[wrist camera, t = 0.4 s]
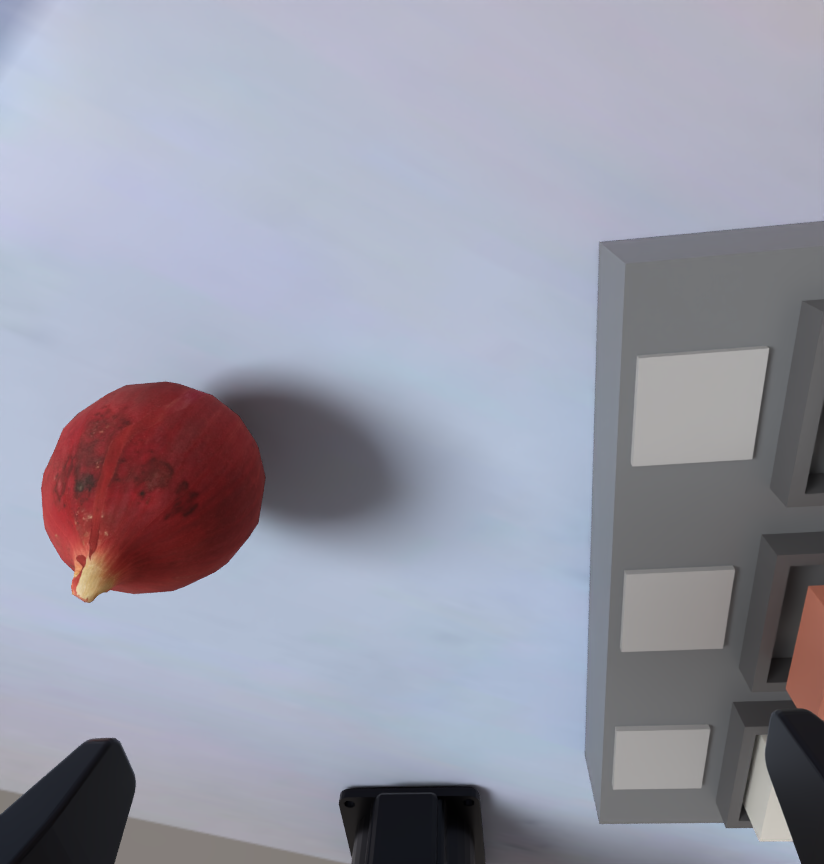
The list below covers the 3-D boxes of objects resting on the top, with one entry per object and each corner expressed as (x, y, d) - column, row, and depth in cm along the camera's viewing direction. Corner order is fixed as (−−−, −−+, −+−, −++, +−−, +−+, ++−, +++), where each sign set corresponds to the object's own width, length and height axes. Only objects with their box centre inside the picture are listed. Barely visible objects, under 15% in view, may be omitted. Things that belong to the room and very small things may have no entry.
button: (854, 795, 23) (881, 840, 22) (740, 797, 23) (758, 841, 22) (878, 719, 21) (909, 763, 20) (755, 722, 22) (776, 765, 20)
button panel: (874, 749, 27) (941, 848, 23) (584, 755, 28) (605, 849, 24) (1055, 199, 17) (1218, 221, 13) (599, 241, 18) (636, 272, 14)
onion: (95, 358, 20) (-95, 486, 13) (266, 337, 20) (163, 460, 13) (152, 508, 23) (18, 683, 16) (305, 493, 22) (237, 669, 15)
